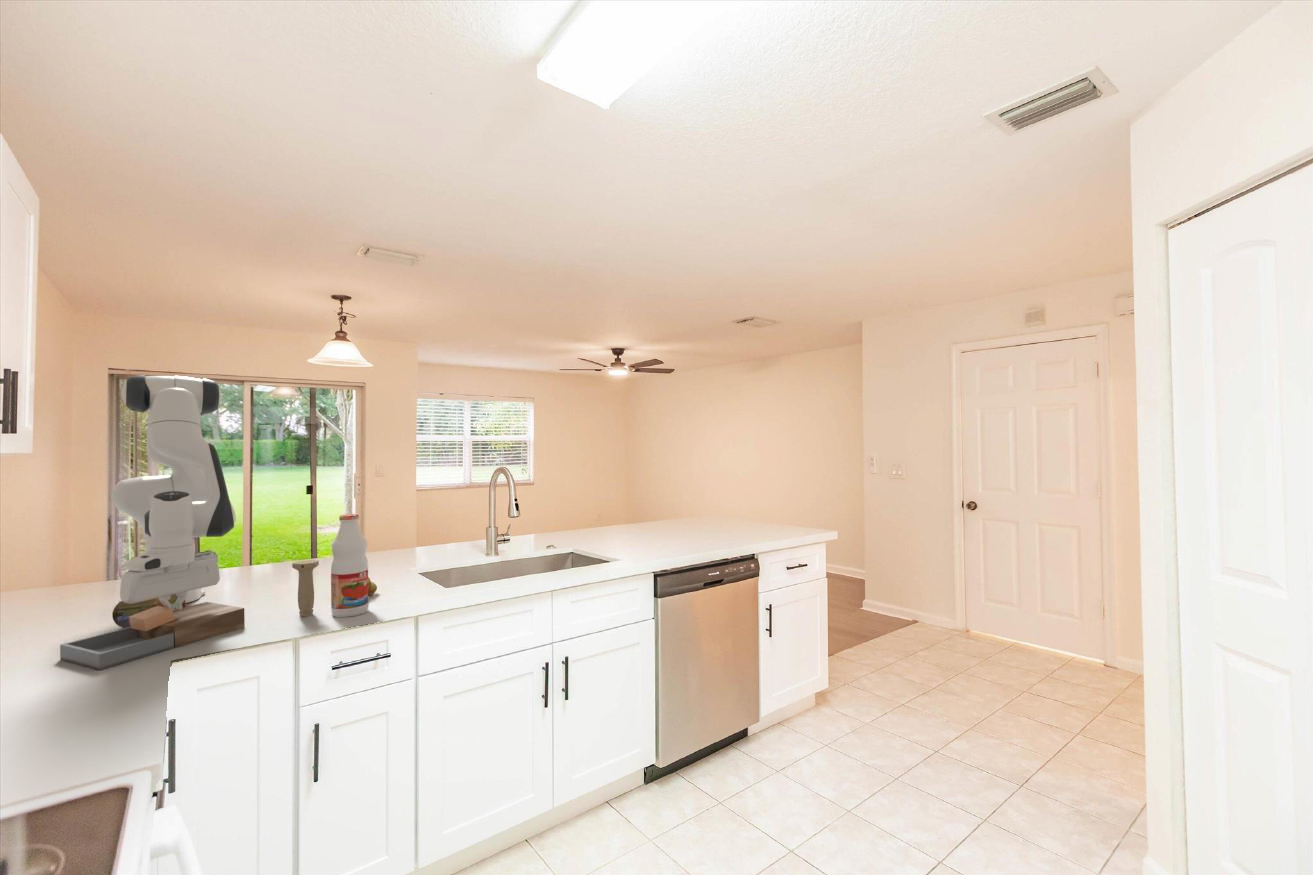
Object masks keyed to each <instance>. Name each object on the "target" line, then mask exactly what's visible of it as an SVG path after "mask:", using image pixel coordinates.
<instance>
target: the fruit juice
mask: <svg viewBox="0 0 1313 875" xmlns="http://www.w3.org/2000/svg"><path fill="white" fill-rule="evenodd" d="M338 517H339V518H338V520H339V522H340V523H339V524H340V526H339V528H338V532H337V534H336V536H335V538H334V540H332V543H331V546H330V549H331V554H332V560H331V563H330V592H331V593H330V595H331V598H330V599H331V601H330V602H331V604H330V606H331V610H330V612H331V615H332V616H333V617H335V618H350V617H355V616H356V617H357V616H359V615H362V614H365V613H367V611H368V610H369V604H370V603H369V596H368V577H369V564H368V563H369V561H368V558H367V556H366V553H367V549H368V541H367V539H366V537H365V536H364V535H363V533H362V531H361V529H360V525H359V523H358V522H359V518H360V516H359V514H358V513H347V514H346V513H344V514H341V515H339V516H338Z"/></svg>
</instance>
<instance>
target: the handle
mask: <svg viewBox="0 0 1313 875" xmlns="http://www.w3.org/2000/svg"><path fill="white" fill-rule="evenodd" d="M291 564H292V565H291V567H292V568H293V569H294V570H296V571H298V588H297V604H298V605H297V606H298V610H299V611H298V613H299V617H308V616H311V615H313V613H314V609H313V608H314V605H315V603H314V602H315V589H314V587H315V586H314V576H313V575H314V574H313V572H314V569H315V568H317V567H318V566H319V564H320V560H318V559H307V560H306V559H305V560H298V561H294V562H292V563H291Z"/></svg>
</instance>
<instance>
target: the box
mask: <svg viewBox="0 0 1313 875" xmlns="http://www.w3.org/2000/svg"><path fill="white" fill-rule="evenodd" d="M174 648H175V647H174V633H170V634H167V635H163V636H159V637H156V638H152V639H149V640H146V639H141V638H137V629H133V628H131V627H128V628H121V629H117V630H112V631H109V632H104V633H101V634H97V635H93V636H89V637H86V638H81V639H77V640H73V641H70V642H67V643H66V642H65V643H61V644H59V653H60V654H59V655H60V656H59V657H60V659H59V660H60V661H62V662H67V663H71V664H74V665H77V666H82V667H84V668H85V667H86V668H89V669H92V670H97V671H103V670H106V669H109V668H112V667H115V666H119V665H122V664H125V663H128V662H132V661H135V660H139V659H142V658H145V657H148V656H151V655H156V654H159V653H162V652H166V651H168V650H172V649H174Z"/></svg>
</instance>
